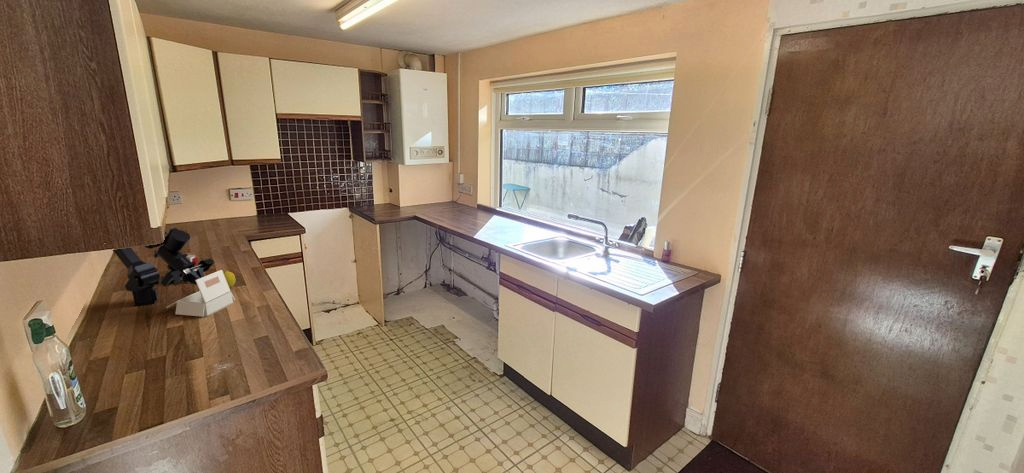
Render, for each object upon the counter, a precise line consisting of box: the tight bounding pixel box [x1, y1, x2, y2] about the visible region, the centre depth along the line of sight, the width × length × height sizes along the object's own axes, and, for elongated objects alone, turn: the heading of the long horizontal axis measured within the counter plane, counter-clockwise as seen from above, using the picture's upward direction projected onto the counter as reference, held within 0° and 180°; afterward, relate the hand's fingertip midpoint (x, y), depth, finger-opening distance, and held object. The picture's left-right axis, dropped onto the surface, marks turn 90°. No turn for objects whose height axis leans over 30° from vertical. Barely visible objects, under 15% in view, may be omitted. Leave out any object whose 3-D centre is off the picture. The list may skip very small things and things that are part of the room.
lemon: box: [223, 270, 237, 289], centre depth 178 cm, size 6×6×8 cm
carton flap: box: [195, 269, 231, 303], centre depth 156 cm, size 1×12×9 cm, turn 172°
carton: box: [165, 290, 236, 317], centre depth 159 cm, size 17×15×5 cm
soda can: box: [186, 254, 199, 284], centre depth 185 cm, size 5×5×12 cm
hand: (205, 287), depth 157 cm, fingers closed
